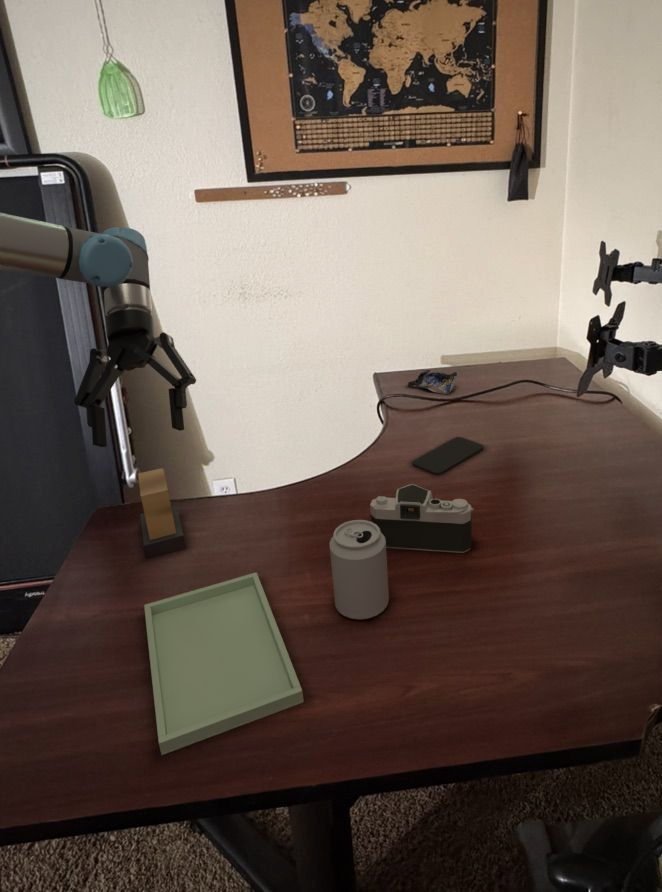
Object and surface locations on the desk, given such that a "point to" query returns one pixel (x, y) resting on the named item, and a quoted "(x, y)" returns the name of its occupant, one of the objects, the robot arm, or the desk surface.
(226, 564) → the desk surface
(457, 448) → the phone
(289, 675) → the tray
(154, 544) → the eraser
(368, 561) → the can
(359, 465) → the desk surface
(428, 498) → the camera
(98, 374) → the robot arm
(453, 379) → the snack package
